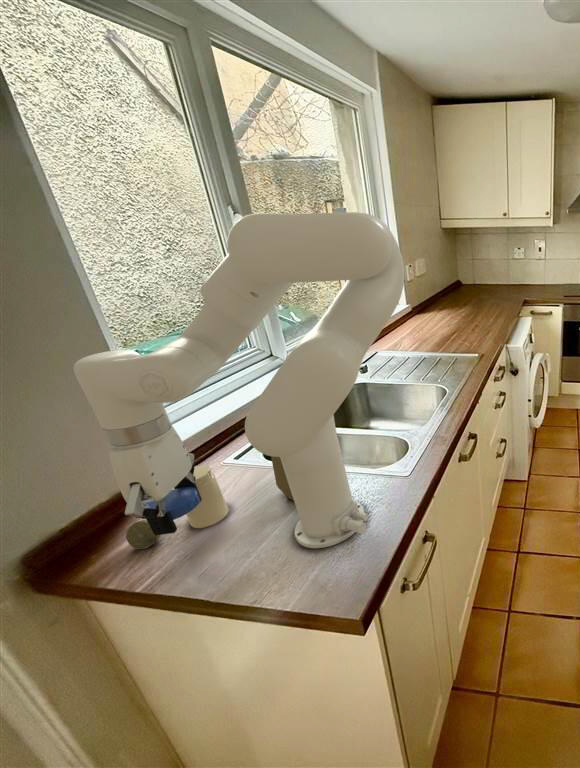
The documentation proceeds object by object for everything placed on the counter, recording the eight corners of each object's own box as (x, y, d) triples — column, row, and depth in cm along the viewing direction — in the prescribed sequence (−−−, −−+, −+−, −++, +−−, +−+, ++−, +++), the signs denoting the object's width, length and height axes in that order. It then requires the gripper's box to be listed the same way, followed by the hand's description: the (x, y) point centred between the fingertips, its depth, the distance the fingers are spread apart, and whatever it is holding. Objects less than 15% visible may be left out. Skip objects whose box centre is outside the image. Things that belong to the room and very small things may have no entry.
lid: (140, 518, 66) (135, 509, 65) (183, 491, 72) (179, 483, 71) (167, 527, 64) (162, 518, 63) (209, 499, 70) (206, 490, 69)
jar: (235, 509, 82) (219, 467, 78) (205, 531, 76) (185, 487, 72) (214, 503, 84) (197, 462, 80) (183, 524, 78) (162, 481, 74)
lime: (166, 542, 74) (155, 521, 72) (132, 557, 71) (120, 536, 69) (163, 530, 77) (153, 510, 75) (131, 544, 74) (119, 523, 72)
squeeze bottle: (305, 505, 82) (282, 431, 75) (272, 501, 84) (246, 428, 76) (329, 482, 89) (310, 412, 82) (298, 478, 91) (277, 410, 84)
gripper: (149, 407, 69) (185, 489, 76) (64, 462, 53) (119, 559, 60) (196, 402, 70) (227, 484, 77) (126, 456, 54) (173, 552, 61)
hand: (179, 516), depth 68 cm, fingers closed on lid, 6 cm apart
